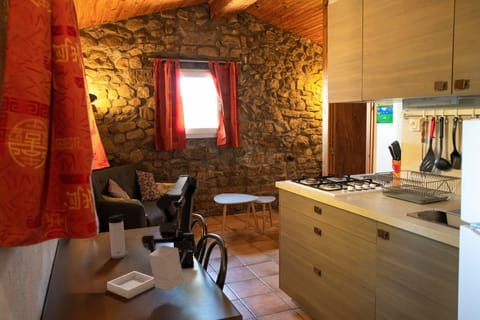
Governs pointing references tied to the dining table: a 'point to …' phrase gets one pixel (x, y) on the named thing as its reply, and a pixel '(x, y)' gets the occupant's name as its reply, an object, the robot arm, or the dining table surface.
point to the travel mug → (117, 236)
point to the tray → (131, 284)
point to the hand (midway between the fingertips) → (167, 263)
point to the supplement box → (166, 267)
